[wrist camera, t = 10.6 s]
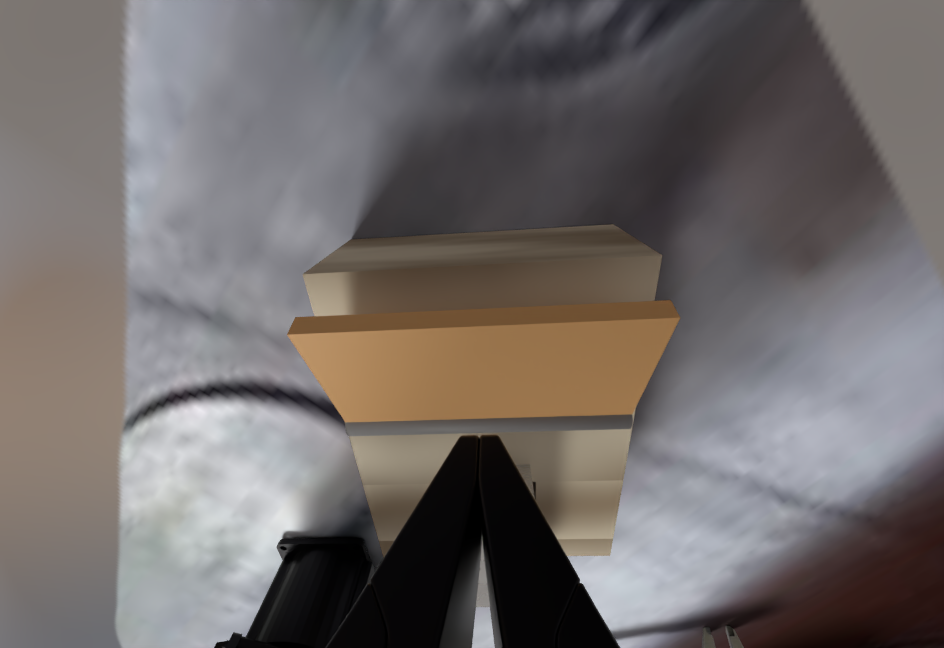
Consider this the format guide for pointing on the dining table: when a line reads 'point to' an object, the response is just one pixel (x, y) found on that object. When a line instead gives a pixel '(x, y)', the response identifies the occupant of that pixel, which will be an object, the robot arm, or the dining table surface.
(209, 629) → the dining table surface
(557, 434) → the hitch block
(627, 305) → the tan wooden plank
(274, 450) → the dining table surface
